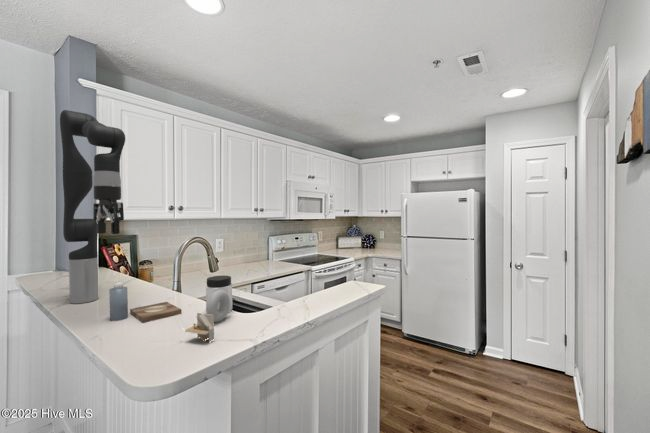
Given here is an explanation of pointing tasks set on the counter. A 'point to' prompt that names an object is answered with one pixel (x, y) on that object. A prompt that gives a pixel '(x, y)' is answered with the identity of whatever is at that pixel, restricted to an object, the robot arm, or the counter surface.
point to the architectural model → (203, 326)
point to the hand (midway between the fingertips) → (108, 233)
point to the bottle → (118, 302)
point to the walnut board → (155, 311)
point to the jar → (219, 287)
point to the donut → (213, 302)
